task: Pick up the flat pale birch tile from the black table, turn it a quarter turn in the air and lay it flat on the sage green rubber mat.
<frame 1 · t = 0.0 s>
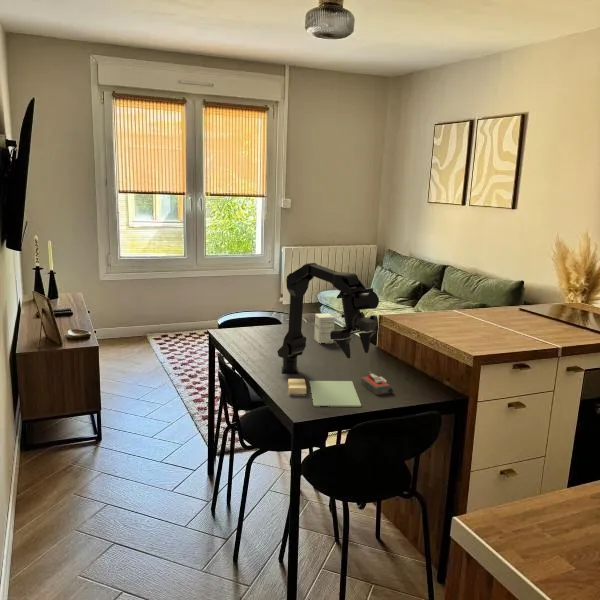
hand: (357, 355, 183), 15 cm above the table, tool pointing down, fingers open, 9 cm apart
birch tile: (296, 391, 192), on the table
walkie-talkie: (373, 385, 200), on the table
supplement box: (323, 341, 251), on the table
rubber mat: (333, 393, 190), on the table
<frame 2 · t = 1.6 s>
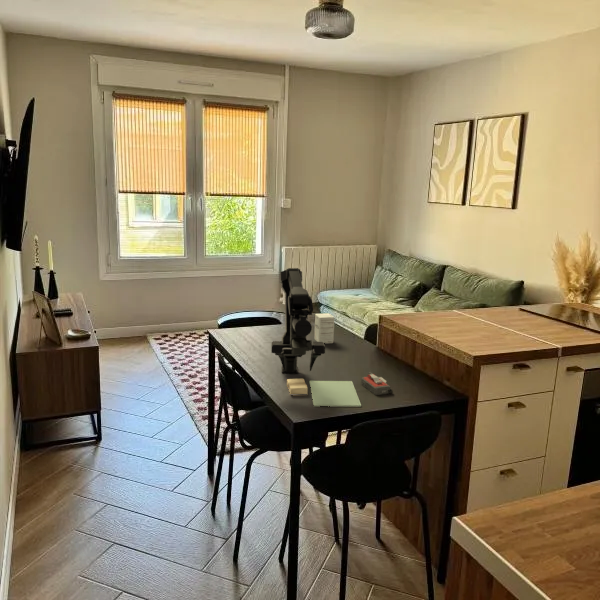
hand: (297, 370, 191), 7 cm above the table, tool pointing down, fingers open, 9 cm apart
nothing on the table moved.
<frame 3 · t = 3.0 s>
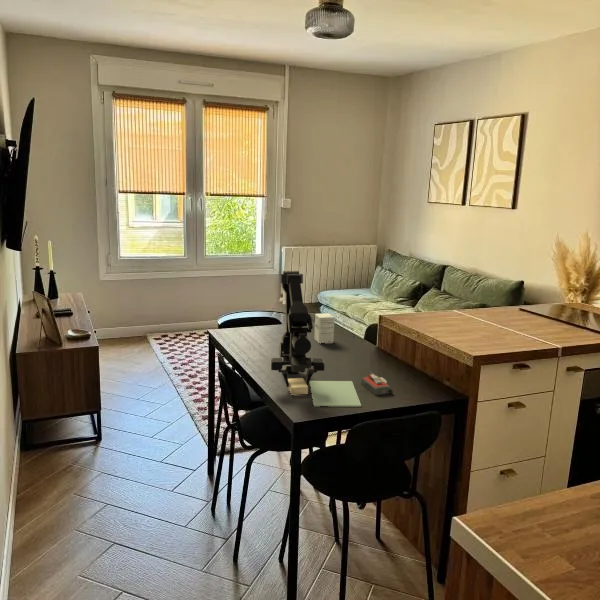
hand: (297, 387, 192), 1 cm above the table, tool pointing down, fingers closed on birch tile, 6 cm apart
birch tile: (296, 390, 192), on the table, touching gripper
everything else where it was.
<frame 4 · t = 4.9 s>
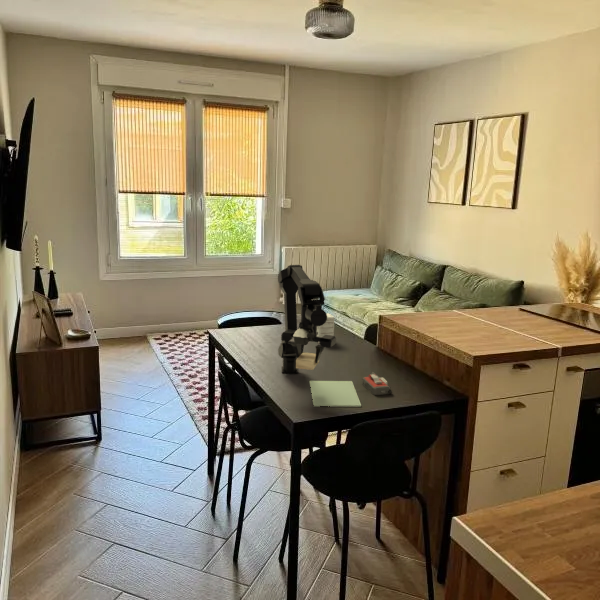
hand: (307, 361, 189), 11 cm above the table, tool pointing down, fingers closed on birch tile, 6 cm apart
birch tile: (307, 364, 189), point 10 cm above the table, touching gripper
everything else where it was.
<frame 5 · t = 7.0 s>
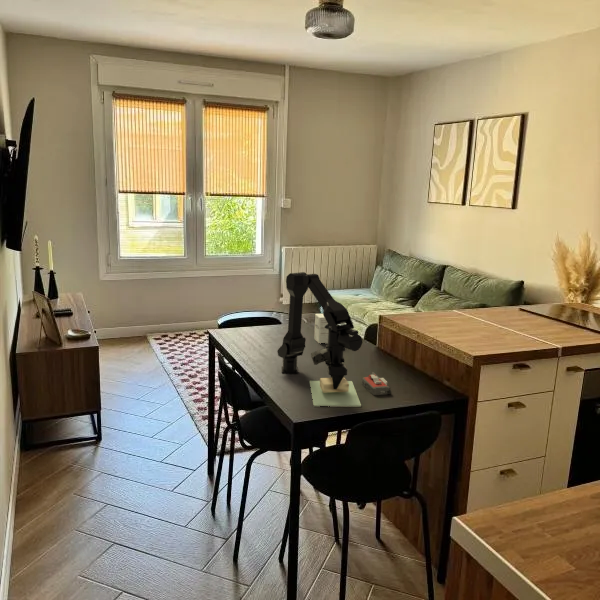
hand: (334, 385, 189), 3 cm above the table, tool pointing down, fingers closed on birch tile, 6 cm apart
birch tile: (333, 388, 190), point 2 cm above the table, touching gripper
everything else where it was.
when the fingers open (3 cm above the table, at t = 7.8 s): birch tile drops 1 cm, resting on rubber mat.
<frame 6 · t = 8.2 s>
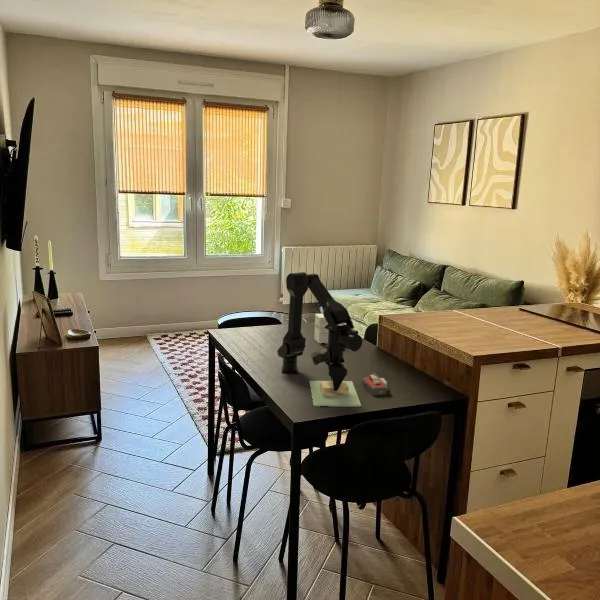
hand: (334, 385, 189), 3 cm above the table, tool pointing down, fingers open, 9 cm apart
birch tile: (333, 392, 190), resting on rubber mat
everything else where it was.
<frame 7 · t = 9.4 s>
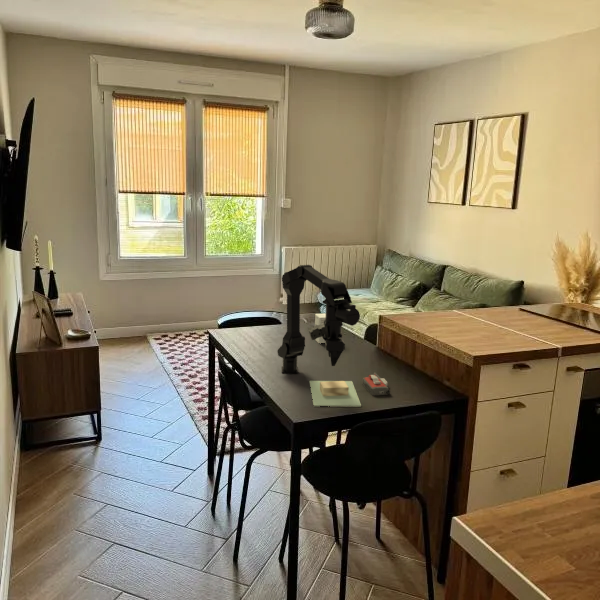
hand: (331, 361, 188), 12 cm above the table, tool pointing down, fingers open, 9 cm apart
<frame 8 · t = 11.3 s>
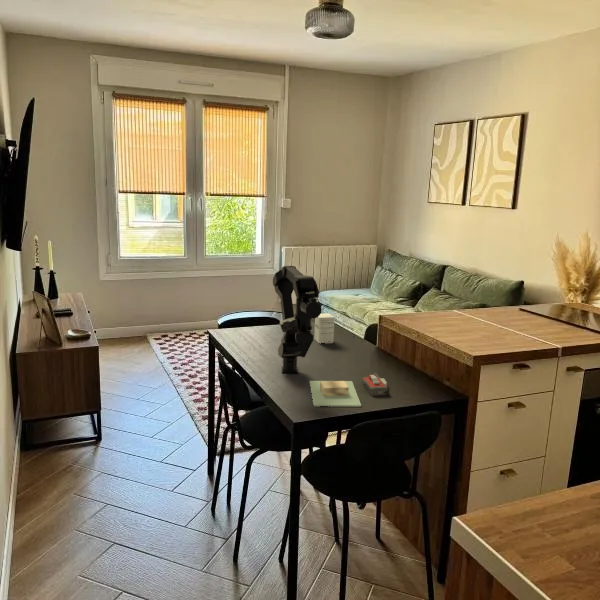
hand: (302, 353, 195), 12 cm above the table, tool pointing down, fingers open, 9 cm apart
at the end: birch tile inside the target area on the rubber mat (0.0 cm from its centre), point 0.5 cm above the rubber mat's base; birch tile tilted 0°; the gripper is holding nothing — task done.
